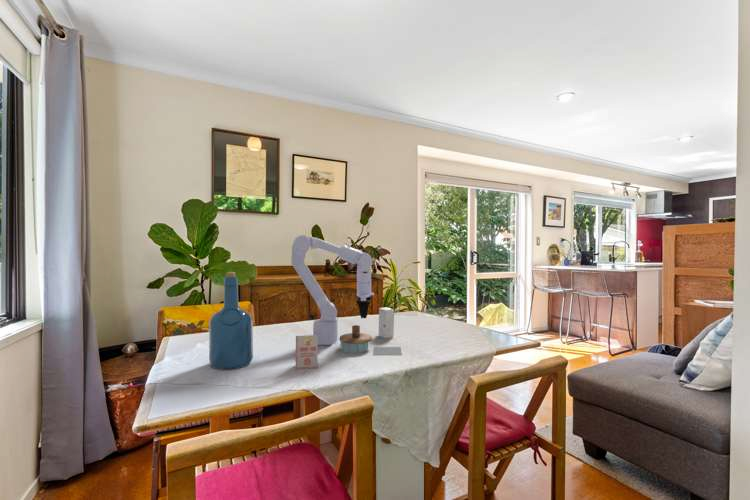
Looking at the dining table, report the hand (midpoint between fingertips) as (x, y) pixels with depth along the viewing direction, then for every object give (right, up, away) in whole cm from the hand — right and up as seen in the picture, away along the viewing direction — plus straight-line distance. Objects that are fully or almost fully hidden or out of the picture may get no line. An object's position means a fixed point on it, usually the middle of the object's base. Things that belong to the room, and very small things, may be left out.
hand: (364, 316), depth 148 cm
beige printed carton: (-17, -11, -31) cm, 37 cm away
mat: (+9, -10, -16) cm, 21 cm away
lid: (-3, -6, -13) cm, 14 cm away
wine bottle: (-42, -11, -28) cm, 52 cm away
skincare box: (+9, -10, +5) cm, 14 cm away
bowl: (-3, -10, -13) cm, 17 cm away
